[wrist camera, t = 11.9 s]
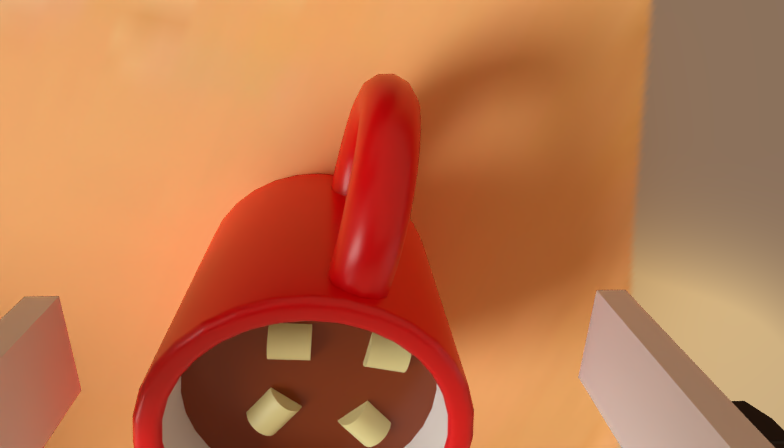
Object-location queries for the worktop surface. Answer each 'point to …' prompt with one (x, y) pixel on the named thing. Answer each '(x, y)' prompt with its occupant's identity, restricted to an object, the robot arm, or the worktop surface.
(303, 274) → the mug
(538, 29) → the worktop surface
